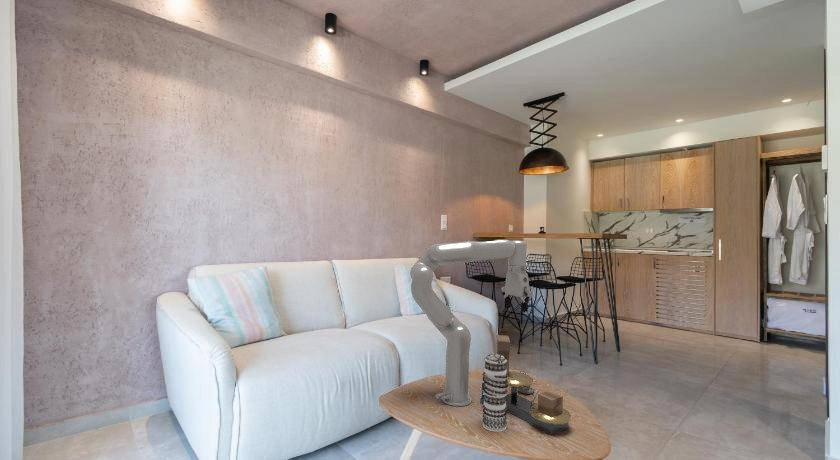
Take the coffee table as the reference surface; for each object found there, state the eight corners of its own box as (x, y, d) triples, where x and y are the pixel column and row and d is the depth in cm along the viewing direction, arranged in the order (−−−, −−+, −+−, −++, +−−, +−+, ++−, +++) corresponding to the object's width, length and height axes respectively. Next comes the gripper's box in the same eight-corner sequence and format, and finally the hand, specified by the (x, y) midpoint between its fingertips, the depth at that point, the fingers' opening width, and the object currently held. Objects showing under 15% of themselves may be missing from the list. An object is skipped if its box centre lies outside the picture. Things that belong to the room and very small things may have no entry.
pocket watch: (532, 389, 171) (532, 366, 172) (536, 396, 163) (536, 373, 163) (513, 388, 172) (514, 365, 172) (516, 395, 164) (517, 372, 164)
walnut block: (551, 417, 133) (552, 400, 133) (537, 410, 138) (538, 394, 138) (562, 413, 137) (562, 396, 137) (548, 407, 142) (548, 390, 142)
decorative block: (509, 385, 175) (510, 341, 175) (496, 384, 176) (497, 340, 177) (508, 376, 186) (509, 335, 186) (496, 375, 187) (497, 334, 187)
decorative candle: (509, 423, 139) (511, 353, 140) (504, 434, 131) (506, 361, 131) (485, 417, 143) (486, 350, 143) (478, 428, 134) (480, 357, 135)
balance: (553, 440, 128) (554, 404, 128) (488, 405, 153) (489, 375, 154) (578, 429, 135) (579, 395, 136) (512, 398, 161) (513, 369, 161)
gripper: (538, 271, 158) (537, 312, 157) (508, 267, 172) (507, 305, 172) (526, 271, 154) (524, 314, 153) (496, 267, 168) (495, 306, 168)
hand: (515, 309), depth 163 cm, fingers open, 9 cm apart
